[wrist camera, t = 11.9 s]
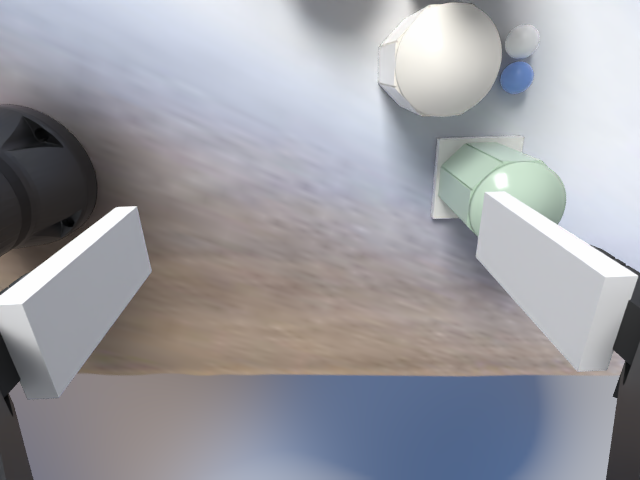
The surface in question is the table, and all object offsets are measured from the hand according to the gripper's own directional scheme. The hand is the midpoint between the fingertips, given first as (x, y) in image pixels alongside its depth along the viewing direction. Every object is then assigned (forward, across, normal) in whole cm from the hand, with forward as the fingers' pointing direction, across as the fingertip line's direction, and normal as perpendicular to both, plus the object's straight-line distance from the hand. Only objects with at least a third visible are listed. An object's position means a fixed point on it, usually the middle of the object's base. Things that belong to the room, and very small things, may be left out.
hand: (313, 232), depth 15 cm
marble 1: (+29, +21, +7) cm, 37 cm away
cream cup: (+30, +12, +6) cm, 32 cm away
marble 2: (+29, +21, +4) cm, 36 cm away
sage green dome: (+28, +18, -6) cm, 34 cm away
